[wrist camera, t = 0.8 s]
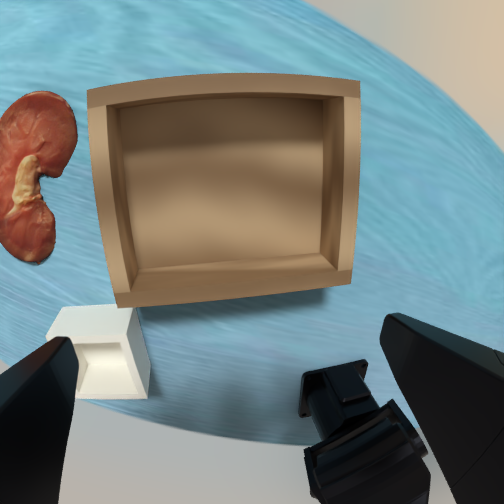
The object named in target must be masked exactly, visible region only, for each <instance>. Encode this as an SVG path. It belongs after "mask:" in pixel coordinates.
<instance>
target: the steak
mask: <svg viewBox="0 0 504 504" xmlns="http://www.w3.org/2000/svg"><path fill="white" fill-rule="evenodd" d="M77 138H78V134H77V125H76V120H75V116H74V113H73V110H72V109H71V107H70V105H69V104H68V103H67V101H66V100H65V99H63V98H62V97H61V96H60V95H57V94H55V93H53V92H50V91H35V92H32V93H29V94H26V95H24V96H23V97H21V98H20V99H18V100H17V101H16V102H14V103H13V104H12V105H11V106H10V107H9V108H8V109H7V110H6V111H5V113H4V114H3V116H2V117H1V118H0V243H1V244H2V245H3V247H4V248H5V249H6V250H7V251H8V252H9V253H10V254H11V255H12V256H14V257H15V258H18V259H20V260H23V261H27V262H37V264H40V263H41V261H42V260H44V259H45V258H47V257H48V256H49V255H50V253H51V252H52V251H53V249H54V244H55V243H56V242H55V239H56V230H55V217H54V214H53V213H52V212H51V211H50V209H49V208H48V207H47V205H46V202H44V201H43V199H42V196H41V194H40V189H41V188H40V183H39V177H40V176H42V175H43V174H45V175H47V176H51V177H54V178H58V177H60V176H61V175H62V172H63V170H64V168H65V167H66V165H67V164H68V162H69V160H70V158H71V156H72V154H73V152H74V150H75V147H76V144H77V141H78V140H77Z"/></svg>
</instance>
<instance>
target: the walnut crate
mask: <svg viewBox="0 0 504 504" xmlns="http://www.w3.org/2000/svg"><path fill="white" fill-rule="evenodd" d="M87 112H88V131H89V145H90V156H91V166H92V175H93V184H94V192H95V199H96V206H97V212H98V219H99V225H100V230H101V236H102V241H103V247H104V252H105V257H106V261H107V266H108V271H109V275H110V280H111V284H112V288H113V292H114V296H115V300H116V304H117V308H132V307H146V306H159V305H171V304H183V303H194V302H204V301H215V300H225V299H234V298H243V297H253V296H261V295H270V294H278V293H287V292H295V291H302V290H310V289H318V288H325V287H332V286H339V285H346V284H351V277H352V268H353V259H354V249H355V239H356V227H357V214H358V198H359V179H360V148H361V100H360V81H356V80H349V79H341V78H332V77H322V76H311V75H296V74H276V73H220V74H199V75H185V76H174V77H164V78H155V79H147V80H140V81H133V82H127V83H120V84H115V85H109V86H104V87H99V88H94V89H89V90H87Z"/></svg>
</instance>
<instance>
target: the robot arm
mask: <svg viewBox="0 0 504 504" xmlns="http://www.w3.org/2000/svg"><path fill="white" fill-rule="evenodd" d="M380 345H381V347H382V349H383V352H384V354H385V356H386V359H387V361H388V363H389V366H390V368H391V371H392V373H393V375H394V378H395V380H396V382H397V384H398V386H399V388H400V390H401V392H402V394H403V396H404V397H405V399H406V401H407V403H408V405H409V407H410V409H411V411H412V412H413V414H414V416H415V418H416V420H417V422H418V424H419V426H420V428H421V430H422V432H423V434H424V436H425V438H426V440H427V442H428V444H429V446H430V447H431V450H432V452H433V454H434V456H435V458H436V460H437V462H438V464H439V466H440V468H441V470H442V472H443V474H444V477H445V479H446V481H447V483H448V485H449V487H450V488H451V489H450V490H451V492H452V494H453V497H454V499H455V501H456V503H457V504H504V353H502V352H500V351H497V350H495V349H494V350H493V349H492V348H489V347H487V346H484V345H482V344H479V343H476V342H474V341H471V340H469V339H466V338H463V337H461V336H458V335H456V334H453V333H450V332H448V331H445V330H443V329H440V328H437V327H435V326H432V325H430V324H427V323H425V322H422V321H419V320H417V319H414V318H412V317H409V316H406V315H404V314H401V313H392V314H388V315H386V317H385V319H384V322H383V326H382V330H381V334H380ZM367 367H368V362H367V361H366V360H365V359H362V360H358V361H354V362H350V363H346V364H341V365H337V366H332V367H328V368H323V369H318V370H313V371H308V372H306V373H304V374H303V377H302V386H301V395H300V403H299V412H298V414H299V416H300V417H301V418H304V417H309V416H312V418H313V421H314V423H315V426H316V428H317V430H318V433H319V435H320V438H321V440H322V442H320V443H318V444H316V445H314V446H312V447H308V448H305V449H304V455H305V457H304V460H305V465H306V470H307V475H308V480H309V485H310V495H311V496H312V497H313V498H316V499H318V500H319V502H320V503H321V504H428V499H429V491H430V479H431V474H430V472H429V470H428V468H427V467H426V465H425V463H424V462H423V460H422V458H423V457H425V456H426V455H427V454H428V451H427V449H426V447H425V445H424V443H423V441H422V439H421V438H420V436H419V434H418V433H417V431H416V430H415V428H414V427H413V425H412V424H411V423H410V421H409V420H408V419H407V417H406V416H405V415H404V413H403V412H402V411H401V409H400V408H399V407H398V405H397V404H396V403H395V401H394V400H393V399H391V400H389V401H388V402H387V404H385V405H384V406H382V407H379V406H378V404H377V402H376V401H375V399H374V398H373V396H372V394H371V391H370V390H369V388H368V387H367V385H366V383H365V382H364V378H365V375H366V371H367ZM78 372H79V361H78V358H77V355H76V352H75V349H74V346H73V343H72V341H71V339H70V338H69V337H67V336H56V337H54V338H53V339H51V340H50V341H48V342H47V343H45V344H44V345H42V346H41V347H39V348H38V349H36V350H35V351H33V352H32V353H31V354H29V355H28V356H26V357H25V358H23V359H22V360H20V361H19V362H18V363H16V364H15V365H13V366H12V367H10V368H9V369H8V370H6V371H5V372H3V373H2V374H0V504H58V500H59V492H60V484H61V476H62V470H63V463H64V457H65V452H66V446H67V441H68V436H69V430H70V426H71V421H72V416H73V410H74V402H75V394H76V386H77V379H78Z"/></svg>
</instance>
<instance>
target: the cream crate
mask: <svg viewBox="0 0 504 504" xmlns="http://www.w3.org/2000/svg"><path fill="white" fill-rule="evenodd" d="M56 336H67V337H69V338H70V339H71V341H72V343H73V346H74V349H75V352H76V355H77V358H78V361H79V372H78V379H77V386H76V394H75V398H79V399H148V389H149V379H150V369H151V363H150V360H149V356H148V353H147V349H146V346H145V342H144V338H143V334H142V331H141V327H140V323H139V319H138V315H137V310H136V307H132V308H117V304H106V305H89V306H71V307H62V309H61V310H60V312H59V314H58V315H57V317H56V319H55V321H54V322H53V324H52V326H51V328H50V329H49V331H48V333H47V335H46V336H45V337H46V339H47V341H50V340H51V339H53V338H54V337H56Z"/></svg>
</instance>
